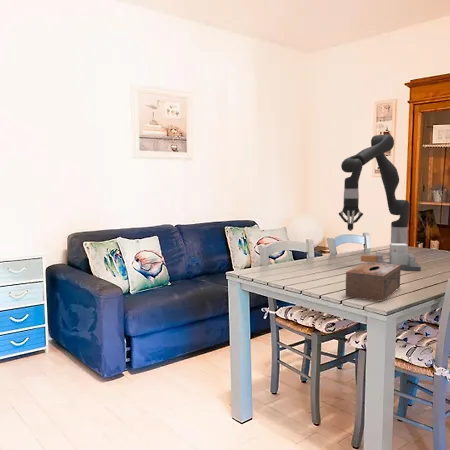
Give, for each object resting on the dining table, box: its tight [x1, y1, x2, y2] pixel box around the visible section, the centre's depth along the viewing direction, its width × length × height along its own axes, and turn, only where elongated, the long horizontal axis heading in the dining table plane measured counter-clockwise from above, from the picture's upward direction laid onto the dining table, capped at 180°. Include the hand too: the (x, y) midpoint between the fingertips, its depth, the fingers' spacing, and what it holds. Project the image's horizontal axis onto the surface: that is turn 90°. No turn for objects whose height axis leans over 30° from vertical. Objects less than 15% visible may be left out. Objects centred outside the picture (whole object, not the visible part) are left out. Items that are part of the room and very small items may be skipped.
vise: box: [374, 252, 422, 272], centre depth 236 cm, size 12×26×7 cm, turn 76°
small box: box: [388, 242, 409, 265], centre depth 234 cm, size 8×6×10 cm
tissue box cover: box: [345, 262, 401, 302], centre depth 187 cm, size 26×14×10 cm, turn 145°
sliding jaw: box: [360, 251, 384, 263], centre depth 238 cm, size 12×10×5 cm
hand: (350, 230), depth 239 cm, fingers closed
